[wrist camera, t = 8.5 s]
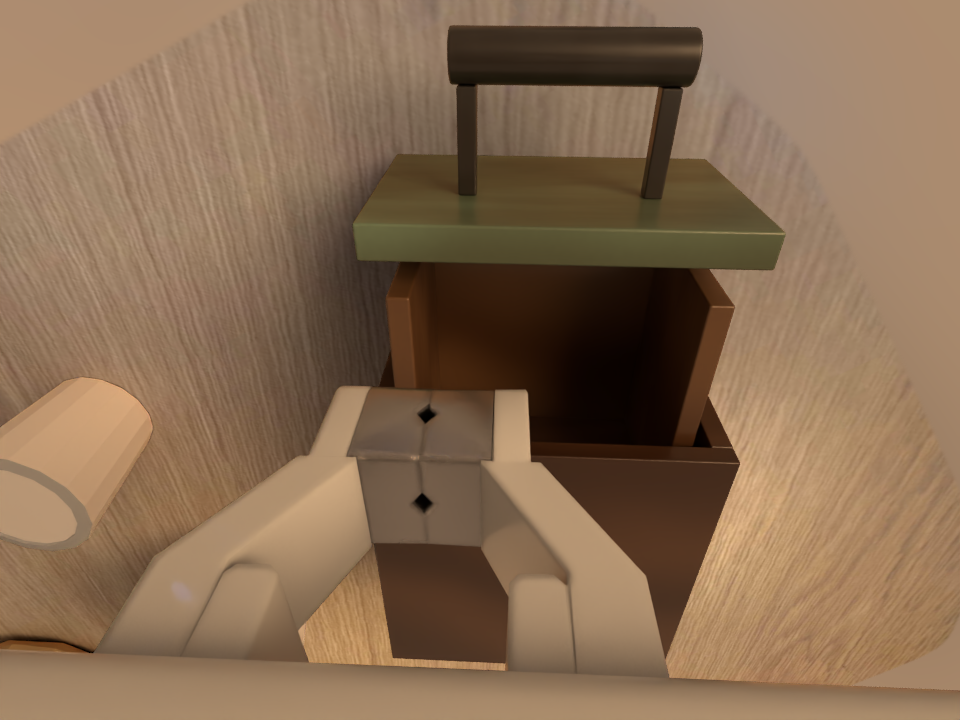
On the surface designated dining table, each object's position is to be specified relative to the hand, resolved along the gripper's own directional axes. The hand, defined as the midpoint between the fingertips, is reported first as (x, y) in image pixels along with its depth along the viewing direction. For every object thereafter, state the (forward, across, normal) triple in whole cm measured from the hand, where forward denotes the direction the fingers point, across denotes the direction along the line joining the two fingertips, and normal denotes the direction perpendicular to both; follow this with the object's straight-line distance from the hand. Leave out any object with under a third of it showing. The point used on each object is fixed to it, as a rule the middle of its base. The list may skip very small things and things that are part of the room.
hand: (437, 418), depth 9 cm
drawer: (+16, -3, +4) cm, 17 cm away
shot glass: (+17, +22, +15) cm, 32 cm away
